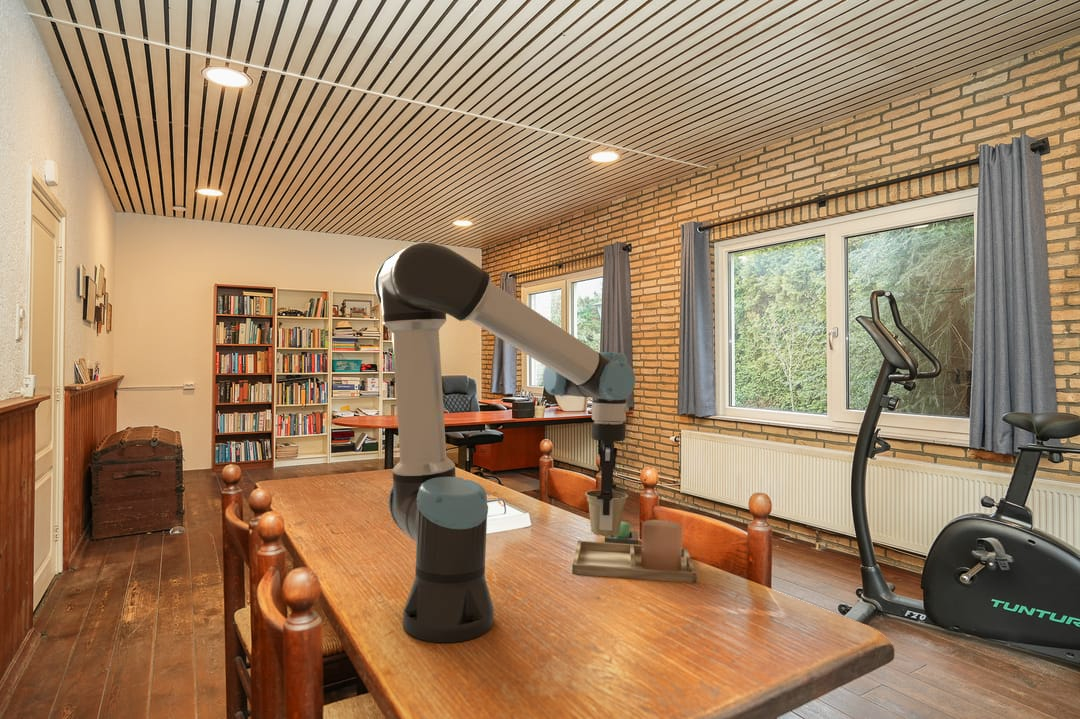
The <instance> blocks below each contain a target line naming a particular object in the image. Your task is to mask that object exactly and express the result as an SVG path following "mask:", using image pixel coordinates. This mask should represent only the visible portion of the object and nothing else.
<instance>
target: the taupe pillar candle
mask: <svg viewBox="0 0 1080 719" xmlns="http://www.w3.org/2000/svg"><path fill="white" fill-rule="evenodd" d="M682 544H683V526H682V524H680V523H677V522H675V521H670V520H663V519H649V520H644V521H643V522H642V524H641V544H640V545H641V566H642V567H643V568H644V569H651V570H665V571H680V570H681V552H682V548H683V545H682Z"/></svg>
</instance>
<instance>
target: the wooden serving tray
mask: <svg viewBox="0 0 1080 719" xmlns="http://www.w3.org/2000/svg"><path fill="white" fill-rule="evenodd" d="M575 548H576V549H575V552H574V557H573V561H572V567H571V574H573V575H583V576H584V575H585V576H595V577H597V576H598V577H608V578H609V577H610V578H613V577H614V578H621V579H623V578H624V579H637V580H648V581H661V582H675V583H687V584H697V579H698V578H697V577H698V576H697V575H698V574H697V572H696V568H695V566H694V564H693V559H692V558H691V556H690V553H689V550H688V548H687V547H682V552H681V570H680V571H665V570H651V569H644V568H643V567H642V566H641V544H638V545H635V544H620V543H606V542H605V541H604V542H603V541H591V540H577V544H576V547H575Z"/></svg>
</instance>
